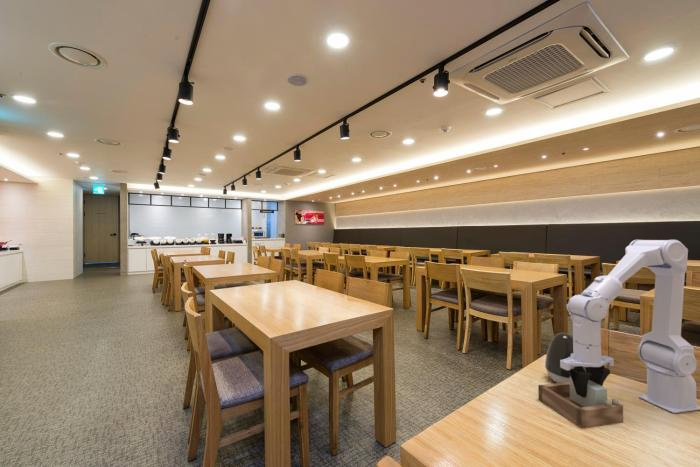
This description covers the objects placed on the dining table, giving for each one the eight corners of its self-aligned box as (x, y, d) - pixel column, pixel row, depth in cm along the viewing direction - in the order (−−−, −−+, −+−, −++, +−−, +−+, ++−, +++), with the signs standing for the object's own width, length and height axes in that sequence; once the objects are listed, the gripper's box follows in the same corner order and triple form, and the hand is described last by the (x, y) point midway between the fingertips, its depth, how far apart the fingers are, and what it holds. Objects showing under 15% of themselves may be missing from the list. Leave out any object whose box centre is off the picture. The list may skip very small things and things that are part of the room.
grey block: (582, 397, 81) (582, 375, 81) (609, 412, 74) (609, 388, 74) (569, 399, 80) (569, 376, 80) (595, 414, 73) (595, 389, 73)
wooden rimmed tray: (575, 395, 83) (574, 377, 83) (623, 422, 71) (623, 401, 71) (538, 399, 81) (538, 381, 81) (582, 428, 69) (581, 407, 69)
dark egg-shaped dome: (595, 388, 87) (594, 336, 88) (568, 393, 85) (567, 340, 85) (562, 373, 97) (562, 326, 97) (537, 377, 94) (536, 329, 95)
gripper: (594, 335, 82) (595, 384, 82) (549, 338, 80) (550, 389, 79) (622, 344, 75) (622, 398, 75) (574, 348, 73) (575, 404, 72)
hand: (587, 394), depth 77 cm, fingers closed on grey block, 3 cm apart
